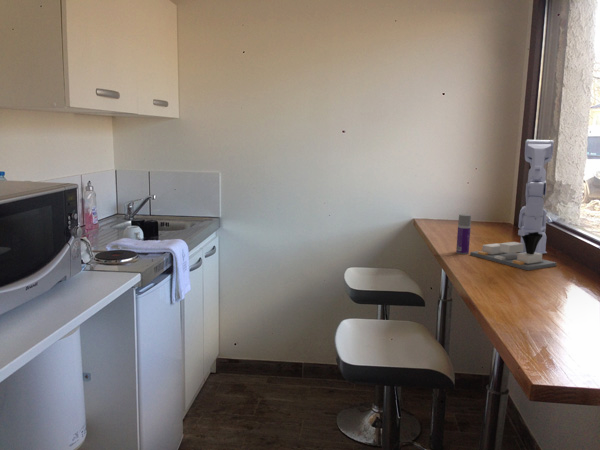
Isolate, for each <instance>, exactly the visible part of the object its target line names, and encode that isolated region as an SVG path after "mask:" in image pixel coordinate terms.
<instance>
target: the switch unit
mask: <svg viewBox="0 0 600 450" xmlns="http://www.w3.org/2000/svg"><path fill="white" fill-rule="evenodd" d="M518 253H519V252H515V253H506V252H505V253H498V254H488V253H487V252H483V251H482V250H476V251H475V250H473V251H469V254H470V256H472V257H477V258H479V259H483V260H487V261H491V262H494V263H499V264H503V265H506V266H510V267H514V268H518V269H521V270H525V271H533V270H539V269H546V268H551V267H552V268H553V267H557V263H558V262H557V261H556V262H555V261H552V260H547V259H543V258H542V262H536V263H529V264H527V263H524V262H522V261H518V260H517V257H518Z"/></svg>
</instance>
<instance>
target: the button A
mask: <svg viewBox="0 0 600 450" xmlns="http://www.w3.org/2000/svg"><path fill="white" fill-rule="evenodd" d="M481 249H482V250H481V251H483V252H487V253H488V254H498V253H505V252H502V251H500V243H488V244H482V248H481Z"/></svg>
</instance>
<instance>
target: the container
mask: <svg viewBox="0 0 600 450" xmlns="http://www.w3.org/2000/svg"><path fill="white" fill-rule="evenodd" d="M471 224H472V215H471V214H468V213H467V214H466V213H459V214H458V224H457V233H456V234H457V235H456V236H457V237H456V250H455V251H456V254H459V255H469V254H470V241H471V239H470V238H471V227H472V225H471Z"/></svg>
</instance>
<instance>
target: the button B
mask: <svg viewBox="0 0 600 450" xmlns="http://www.w3.org/2000/svg"><path fill="white" fill-rule="evenodd" d="M499 244H500V251H502V252H506V253H520V252H522V251H523V250H524V244H522V243H520V242H517V241H510V242H509V241H508V242H502V243H499Z"/></svg>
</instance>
